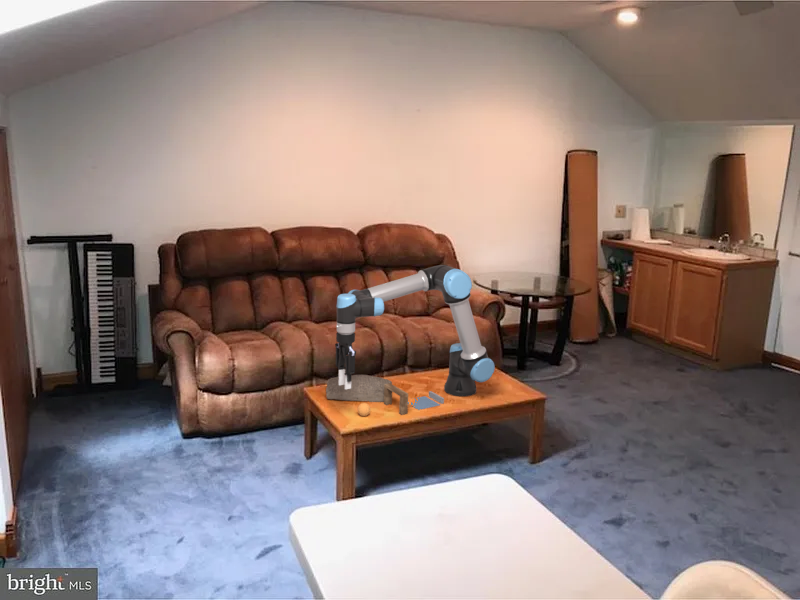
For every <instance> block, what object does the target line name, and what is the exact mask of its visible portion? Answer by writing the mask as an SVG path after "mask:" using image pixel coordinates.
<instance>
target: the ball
mask: <svg viewBox="0 0 800 600" xmlns="http://www.w3.org/2000/svg"><path fill="white" fill-rule="evenodd" d="M357 413H358V415H360V416H361V417H366V416H368V415H369V414H370V413H371V406H370V404H368V403H366V402H362V403H360V404H358V407H357Z"/></svg>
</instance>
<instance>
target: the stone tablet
mask: <svg viewBox="0 0 800 600" xmlns="http://www.w3.org/2000/svg"><path fill="white" fill-rule="evenodd" d="M338 380H339V376H335V377H330V378H328V379H327V382H326V388H325V394H326V395H325V397H326V399H327V400H337V401H338V400H339V401H340V400H341V401H348V402H349V401H351V402H352V401H354V402H355V401H356V402H368V401H369V403H384V384H389V383H391V384H392V385H393V381H392V380H390V379H388V378H383V377H380V376H373V375H368V374H352V375H351V389H344V388H345V385H338Z"/></svg>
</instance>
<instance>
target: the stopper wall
mask: <svg viewBox="0 0 800 600" xmlns="http://www.w3.org/2000/svg"><path fill="white" fill-rule="evenodd" d="M428 398H429V399H431V400H433V401H435V402H436V403H438V404H440V405H442V404H445V403H444V402H445V398H444V397H442V396H441V395H439V394H437V393H436V392H433V391H430V390H429V391H428Z"/></svg>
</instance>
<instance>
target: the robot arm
mask: <svg viewBox="0 0 800 600" xmlns="http://www.w3.org/2000/svg"><path fill="white" fill-rule="evenodd" d="M472 287H473V282H472V279H471V277H470V275H468V274H467V273H466V272H464V270H461V269H458V268H454V267H452V266H450V265H447V264H439V265H434V266H429V267H427V268H423V269H421V270H418V272H417V273H414V274H411V275H409V276H405V277H401V278H399V279H395V280H392V281H388V282H386V283H384V282H383V283H381V284H378V285H375V286H371V287H368V288H364V289H360V290H359V289H352V290H349V292H347V293H341V294H338V296H337V299H336V326H335V328H336V333H335V335H336V336H335V337H336V339H335V340H336V342H337V343H334V346H335V347H334V348H335V367H336V368H337V369H338V377H339V380H338V385H345V388H344V389H351V375H355V374H356V356H357V351H356V350H354V349H353V343H355V341H356V333H355V332H356V318H367V317H369V318H370V317H378V316H381V315H383V314H384V311H385V303H384V302H388V301H390V300H393V299H398V298H401V297H404V296H407V295H411V294H414V293H418V292H421V291H423V292H428V291H439V292H441V294H442V296H443V301H444V303H445V304H446V305H449V309H450V312H451V316H452V319H453V322H454V326H455V328H456V333H457V336H458V339H459V343H456V342H455V343H453V344H451V346H450V348H449V365H448V376H447V378H446V381H445V384H444V385H443V386H444V388H443V391H444V393H446V394H448V395H451V396H453V397H454V396H455V397H471V396H475V394H476V393H477V385H476V382H478V383H484V382H487V381H488V380H490V379H491V378H492V376H493V374H494V373H495V371H496V370H495V368H496V367H495V366H496V365H495V362H494V361H493V359H491V358H490V357H489V356H488V352H487V349H486V347H485V346H484V345H482V342H481V339H480V336H479V332H478V328H477V325H476V322H475V319H474V316H473V315H474V314H473V312H472V308H471V304H470V301H469V299H470V297H472V295H471V294H472V293H471V290H472Z"/></svg>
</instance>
